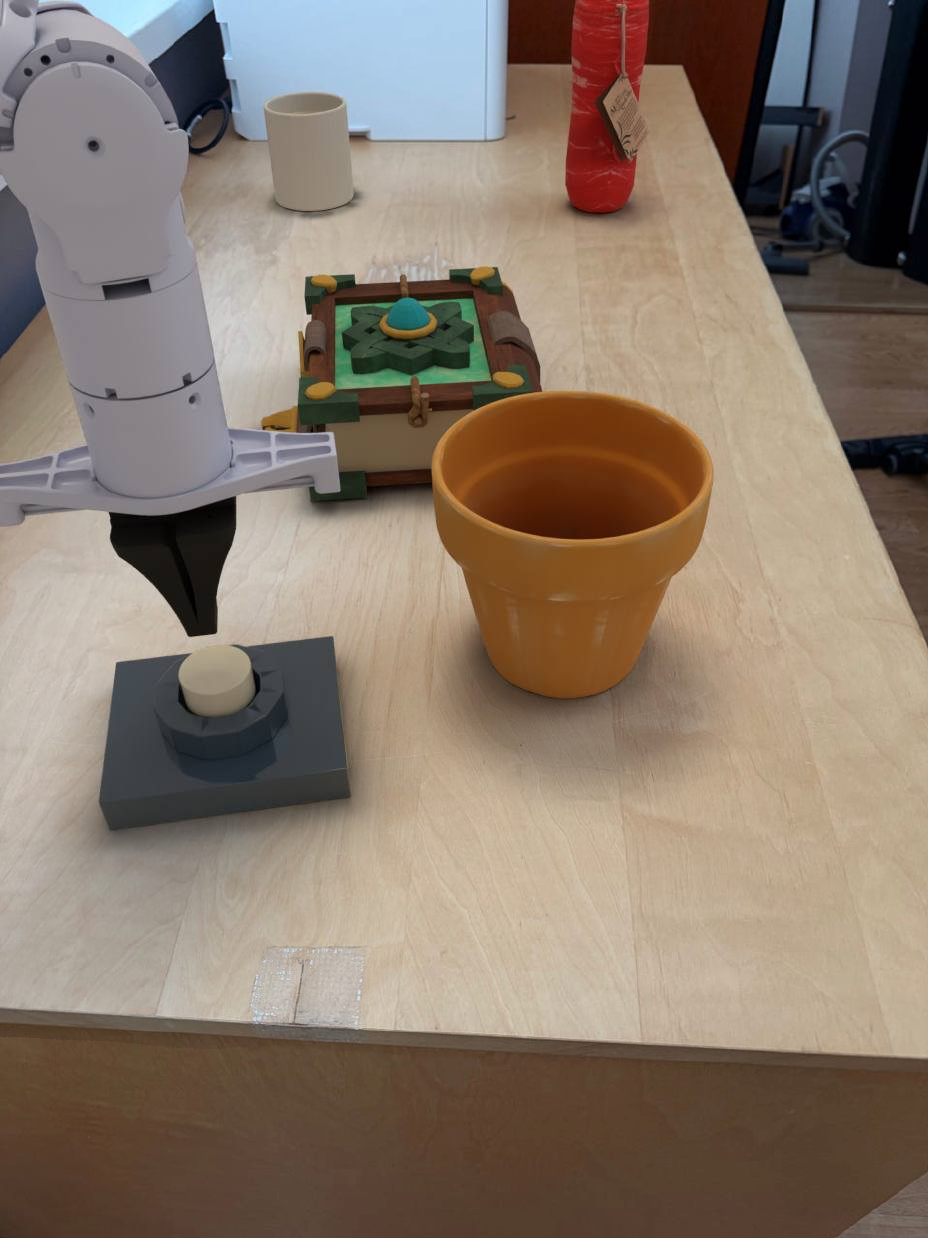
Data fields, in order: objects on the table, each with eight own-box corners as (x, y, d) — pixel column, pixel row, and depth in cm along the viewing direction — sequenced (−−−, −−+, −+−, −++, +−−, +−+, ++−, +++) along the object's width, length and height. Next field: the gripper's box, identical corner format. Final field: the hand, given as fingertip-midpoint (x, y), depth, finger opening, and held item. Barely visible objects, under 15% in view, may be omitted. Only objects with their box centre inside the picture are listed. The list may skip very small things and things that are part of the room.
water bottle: (651, 227, 110) (681, -52, 93) (577, 232, 109) (593, -48, 93) (624, 188, 119) (646, -72, 102) (555, 192, 118) (566, -69, 102)
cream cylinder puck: (183, 723, 52) (176, 698, 51) (186, 673, 55) (179, 648, 53) (256, 713, 52) (251, 688, 51) (255, 664, 55) (250, 640, 54)
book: (272, 336, 92) (256, 222, 85) (509, 323, 93) (511, 210, 87) (254, 508, 72) (230, 377, 65) (555, 489, 73) (562, 359, 67)
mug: (294, 217, 114) (282, 119, 107) (261, 191, 120) (248, 97, 113) (382, 198, 118) (376, 102, 111) (347, 174, 124) (339, 82, 117)
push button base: (109, 831, 51) (88, 778, 49) (124, 689, 59) (107, 637, 56) (351, 797, 53) (344, 744, 50) (336, 663, 60) (330, 611, 58)
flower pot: (441, 742, 55) (432, 548, 47) (437, 575, 66) (429, 392, 58) (705, 732, 56) (745, 537, 47) (658, 567, 66) (684, 384, 58)
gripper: (318, 306, 45) (346, 555, 54) (-30, 335, 43) (58, 587, 52) (329, 384, 40) (358, 646, 49) (-66, 421, 38) (38, 684, 47)
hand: (202, 622), depth 50 cm, fingers closed
